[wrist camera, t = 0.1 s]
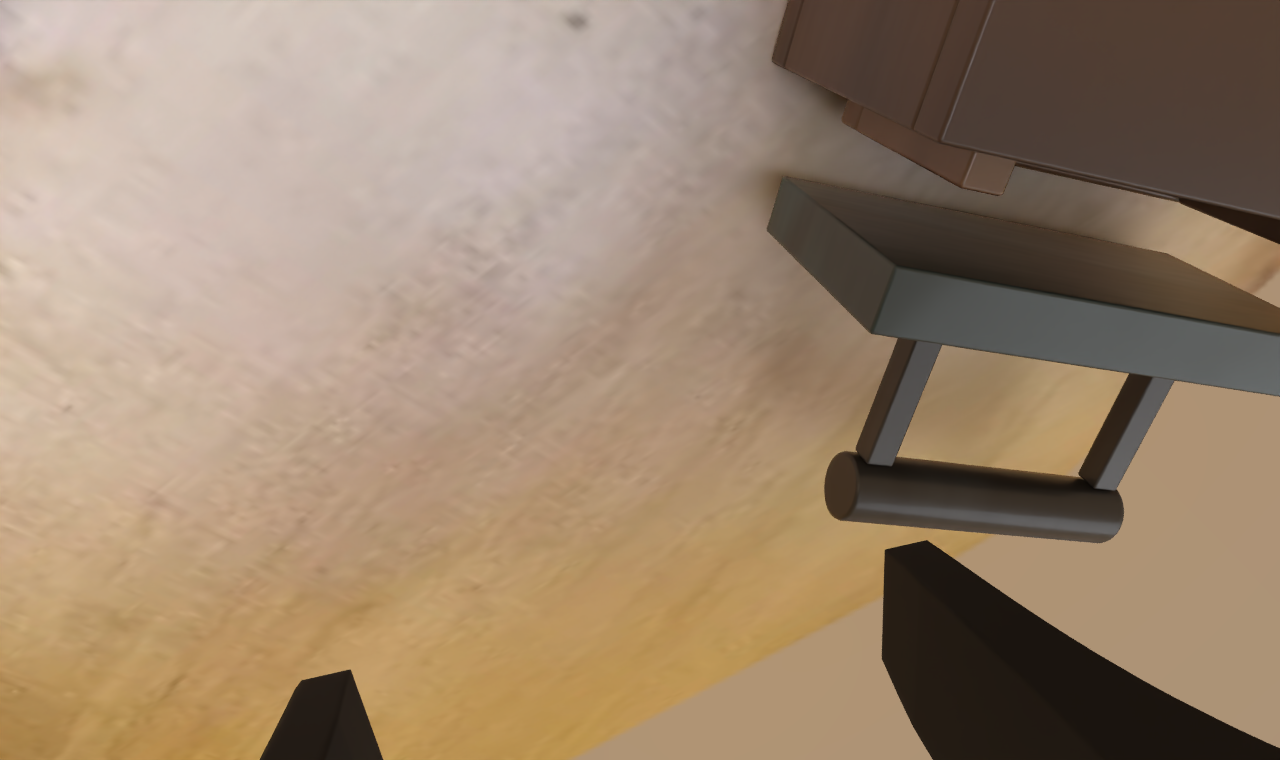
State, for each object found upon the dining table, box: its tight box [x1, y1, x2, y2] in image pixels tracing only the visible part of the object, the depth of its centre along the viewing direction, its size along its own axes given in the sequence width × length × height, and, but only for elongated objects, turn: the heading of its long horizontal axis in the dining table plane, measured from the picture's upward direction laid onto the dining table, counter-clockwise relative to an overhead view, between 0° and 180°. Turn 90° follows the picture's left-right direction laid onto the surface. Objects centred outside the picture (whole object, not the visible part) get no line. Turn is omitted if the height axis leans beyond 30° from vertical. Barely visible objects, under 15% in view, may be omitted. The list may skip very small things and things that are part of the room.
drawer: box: [767, 99, 1280, 543], centre depth 17 cm, size 17×10×5 cm, turn 166°
